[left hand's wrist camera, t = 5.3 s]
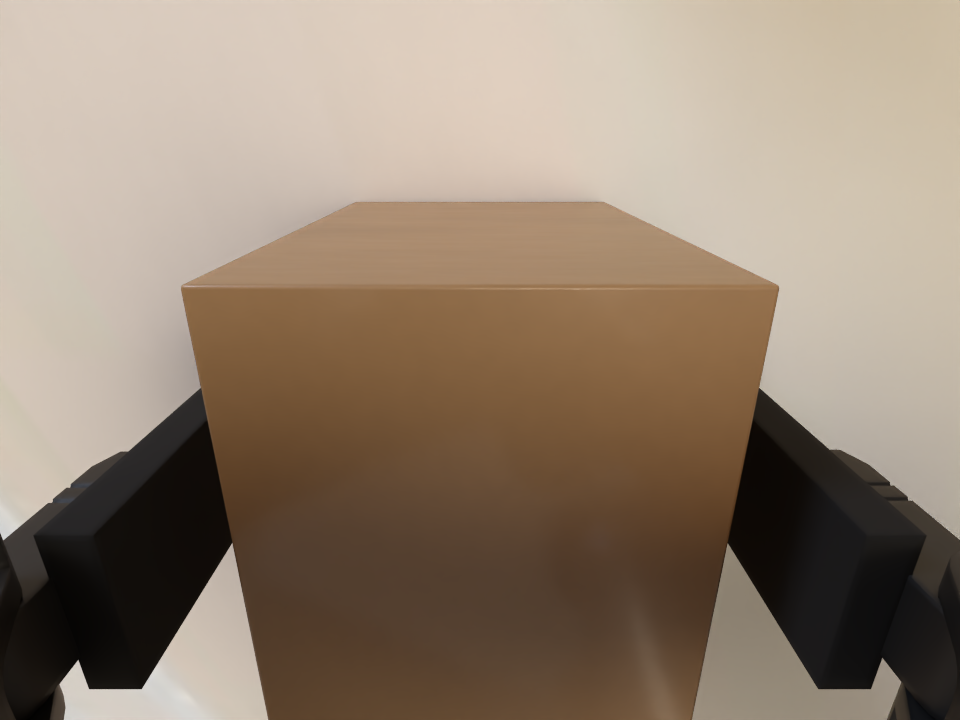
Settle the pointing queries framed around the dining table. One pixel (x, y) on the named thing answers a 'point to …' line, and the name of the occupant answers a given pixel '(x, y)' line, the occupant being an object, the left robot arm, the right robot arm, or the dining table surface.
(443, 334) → the block
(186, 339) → the dining table surface
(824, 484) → the left robot arm
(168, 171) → the dining table surface
